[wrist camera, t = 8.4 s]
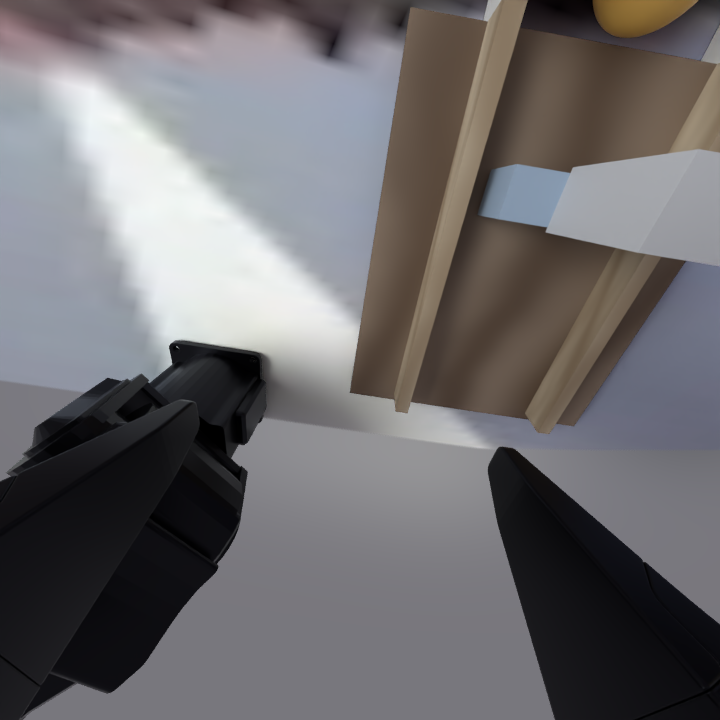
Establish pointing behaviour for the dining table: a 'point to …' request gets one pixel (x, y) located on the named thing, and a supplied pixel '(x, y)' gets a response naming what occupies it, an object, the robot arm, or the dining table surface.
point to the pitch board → (506, 238)
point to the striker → (619, 203)
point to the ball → (638, 15)
